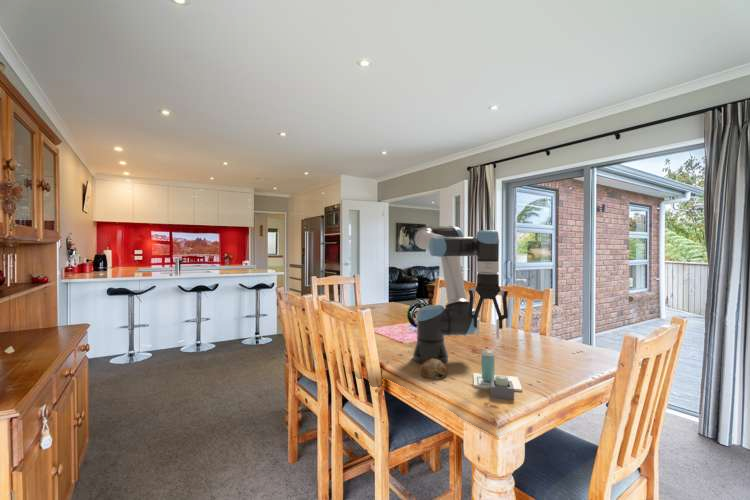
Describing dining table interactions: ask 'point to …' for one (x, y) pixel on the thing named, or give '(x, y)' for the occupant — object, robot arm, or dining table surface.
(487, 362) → the white-capped teal capsule
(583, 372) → the dining table surface
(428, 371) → the bread roll
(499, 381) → the button
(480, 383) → the sheet
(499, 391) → the button housing
